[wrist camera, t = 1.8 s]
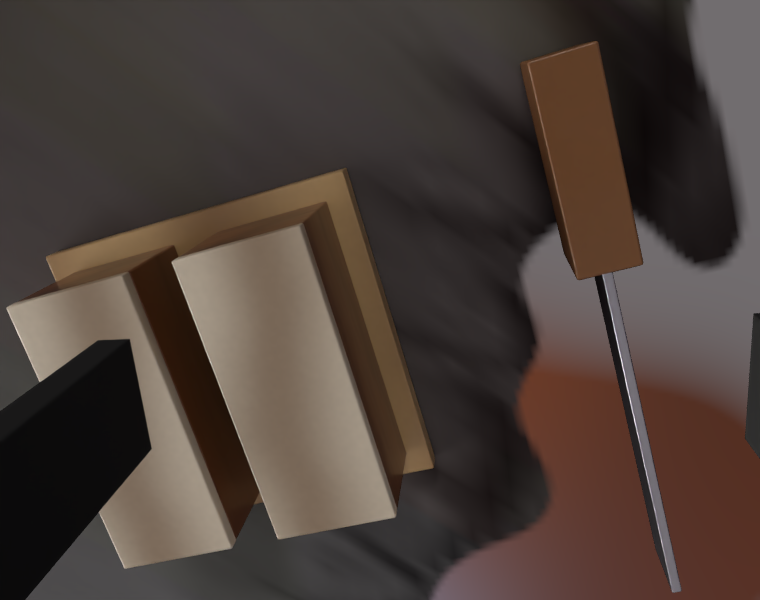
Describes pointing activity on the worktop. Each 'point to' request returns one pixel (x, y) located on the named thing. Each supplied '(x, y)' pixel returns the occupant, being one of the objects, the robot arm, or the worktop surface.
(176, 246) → the cake
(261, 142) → the worktop surface
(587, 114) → the knife
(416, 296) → the worktop surface
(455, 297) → the worktop surface
